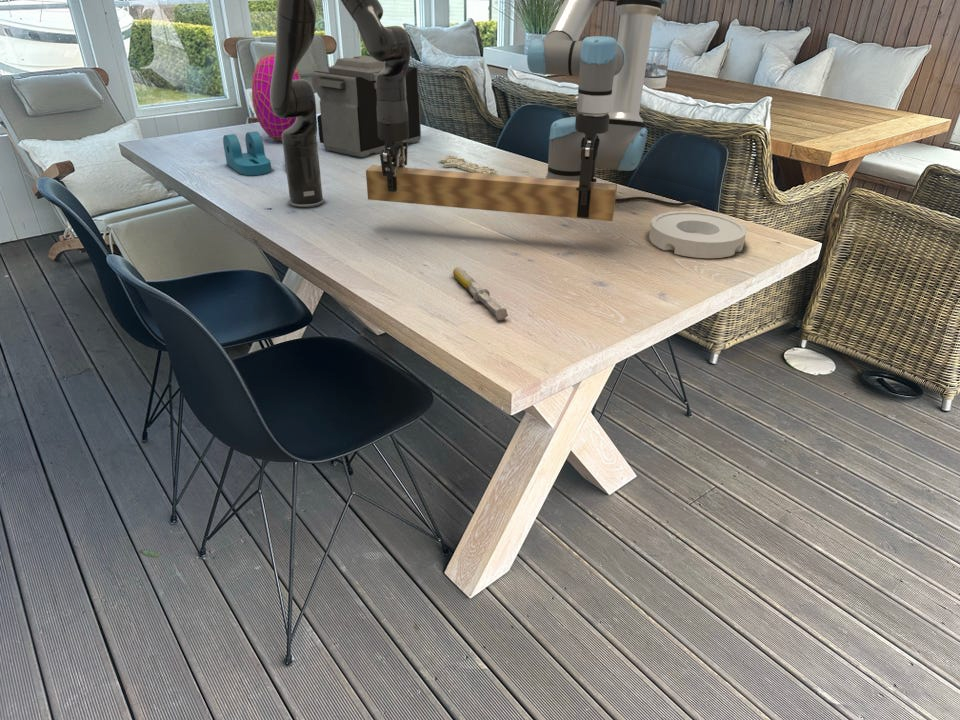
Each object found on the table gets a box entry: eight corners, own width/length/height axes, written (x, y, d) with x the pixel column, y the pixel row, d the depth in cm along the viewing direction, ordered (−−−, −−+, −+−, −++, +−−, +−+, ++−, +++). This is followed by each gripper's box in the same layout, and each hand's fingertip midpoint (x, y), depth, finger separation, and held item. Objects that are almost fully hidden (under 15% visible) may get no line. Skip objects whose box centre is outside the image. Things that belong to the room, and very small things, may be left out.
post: (613, 214, 167) (617, 184, 163) (612, 221, 163) (615, 190, 159) (374, 193, 179) (372, 164, 175) (367, 199, 175) (365, 170, 171)
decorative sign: (429, 159, 238) (452, 154, 244) (429, 162, 238) (452, 157, 244) (480, 175, 221) (502, 170, 227) (480, 178, 221) (502, 173, 227)
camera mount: (227, 164, 233) (221, 132, 227) (257, 160, 238) (252, 129, 233) (244, 176, 220) (239, 143, 215) (276, 172, 225) (271, 139, 220)
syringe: (449, 274, 155) (449, 263, 153) (465, 272, 156) (464, 260, 154) (490, 323, 135) (491, 310, 133) (508, 319, 136) (508, 307, 134)
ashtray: (641, 224, 185) (643, 210, 183) (728, 226, 184) (731, 212, 182) (658, 257, 165) (660, 241, 163) (755, 259, 164) (759, 243, 162)
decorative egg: (293, 132, 276) (283, 50, 261) (319, 140, 264) (310, 56, 249) (249, 139, 265) (236, 54, 250) (273, 148, 253) (261, 60, 238)
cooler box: (383, 133, 276) (378, 52, 261) (425, 141, 265) (422, 56, 250) (314, 150, 251) (304, 61, 235) (358, 160, 240) (350, 67, 224)
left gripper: (388, 111, 172) (391, 179, 181) (367, 123, 160) (371, 195, 169) (416, 113, 170) (419, 181, 179) (397, 125, 158) (400, 197, 167)
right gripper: (580, 104, 162) (572, 200, 174) (571, 120, 147) (563, 224, 159) (612, 106, 161) (602, 202, 173) (606, 122, 146) (596, 227, 158)
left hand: (396, 187), depth 174 cm, fingers closed on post, 5 cm apart
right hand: (583, 212), depth 166 cm, fingers closed on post, 5 cm apart
